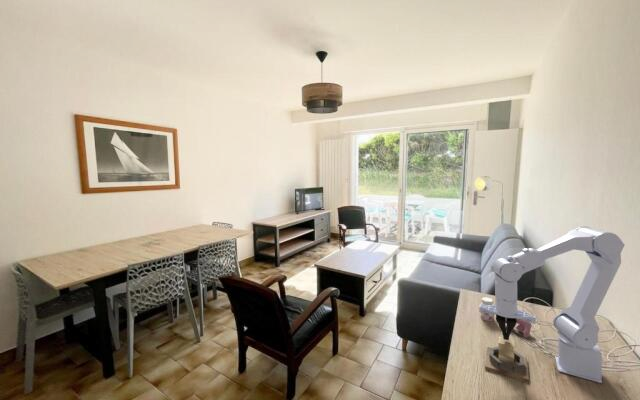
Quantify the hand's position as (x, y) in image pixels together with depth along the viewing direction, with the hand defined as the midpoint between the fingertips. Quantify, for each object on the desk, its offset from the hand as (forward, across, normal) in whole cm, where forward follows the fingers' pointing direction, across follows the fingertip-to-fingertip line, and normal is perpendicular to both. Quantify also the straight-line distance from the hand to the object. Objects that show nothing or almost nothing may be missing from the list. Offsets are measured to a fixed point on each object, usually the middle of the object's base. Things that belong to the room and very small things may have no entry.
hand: (506, 338), depth 86 cm
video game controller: (+9, -2, -23) cm, 25 cm away
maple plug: (+8, 0, 0) cm, 8 cm away
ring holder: (+9, 0, 0) cm, 9 cm away
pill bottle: (+9, +7, -28) cm, 30 cm away
